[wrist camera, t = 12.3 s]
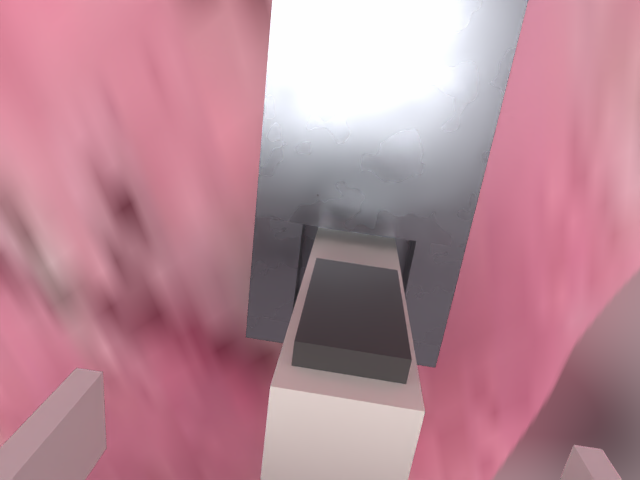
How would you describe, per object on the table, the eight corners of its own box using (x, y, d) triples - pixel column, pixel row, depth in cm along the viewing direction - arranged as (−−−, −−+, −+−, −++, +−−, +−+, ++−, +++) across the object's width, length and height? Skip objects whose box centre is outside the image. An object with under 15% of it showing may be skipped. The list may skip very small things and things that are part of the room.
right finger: (381, 306, 25) (396, 524, 13) (309, 295, 26) (258, 500, 13) (397, 223, 24) (431, 386, 12) (320, 212, 24) (273, 360, 12)
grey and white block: (258, 309, 27) (159, 530, 14) (309, -272, 18) (162, -1161, 5) (427, 336, 27) (487, 589, 14) (567, -246, 18) (1137, -1143, 5)
